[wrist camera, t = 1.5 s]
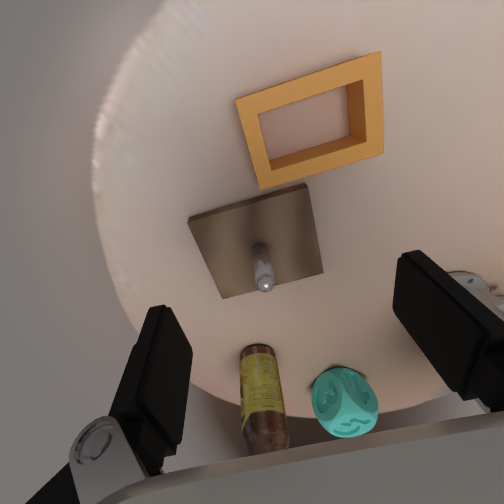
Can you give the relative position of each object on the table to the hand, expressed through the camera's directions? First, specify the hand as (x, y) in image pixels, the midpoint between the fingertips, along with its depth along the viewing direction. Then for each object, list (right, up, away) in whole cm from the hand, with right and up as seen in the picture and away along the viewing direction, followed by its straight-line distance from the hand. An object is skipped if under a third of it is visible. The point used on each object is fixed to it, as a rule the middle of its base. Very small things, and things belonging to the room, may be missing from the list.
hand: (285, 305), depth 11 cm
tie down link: (+4, +15, +16) cm, 22 cm away
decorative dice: (+15, -22, +39) cm, 47 cm away
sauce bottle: (0, -15, +34) cm, 37 cm away
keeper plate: (0, +3, +23) cm, 23 cm away
